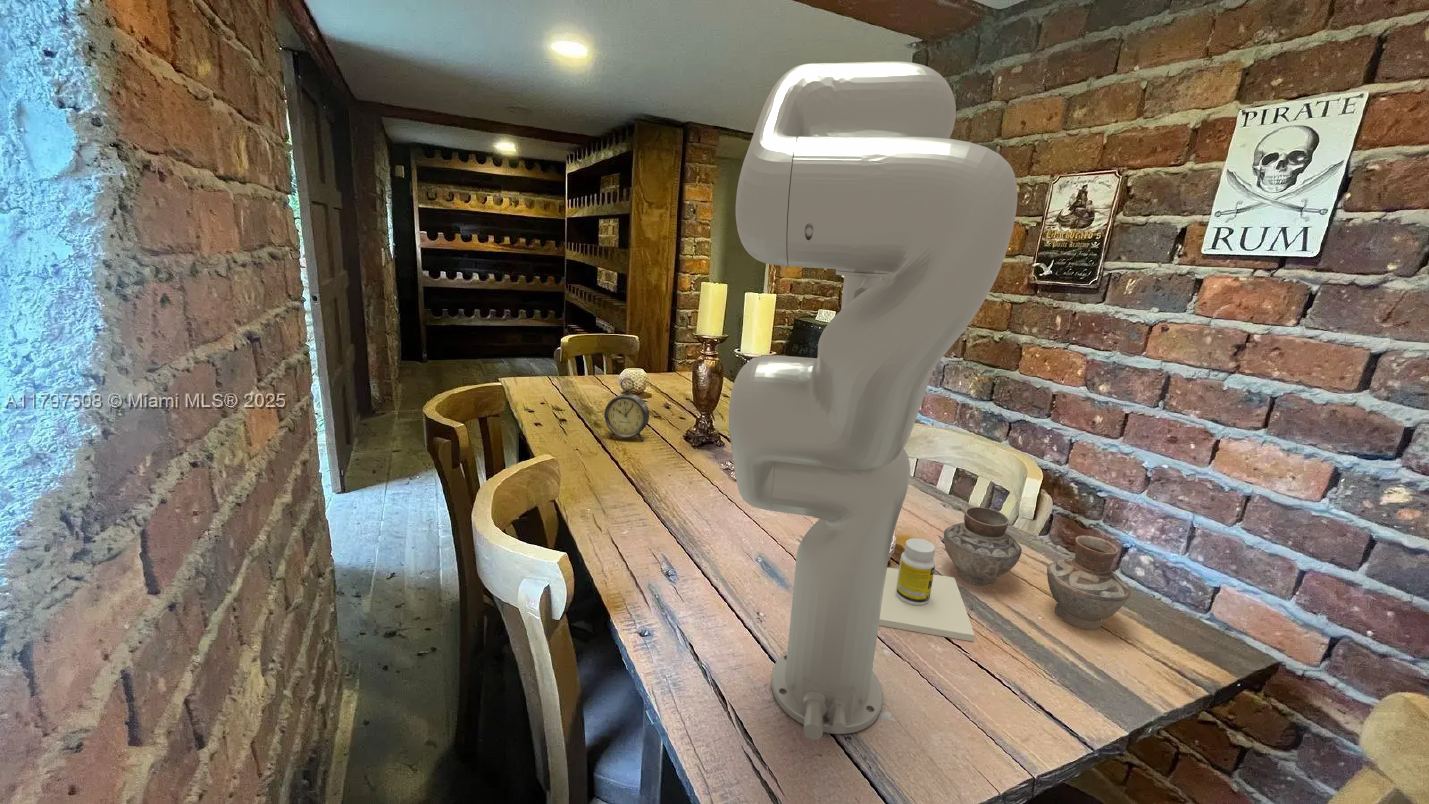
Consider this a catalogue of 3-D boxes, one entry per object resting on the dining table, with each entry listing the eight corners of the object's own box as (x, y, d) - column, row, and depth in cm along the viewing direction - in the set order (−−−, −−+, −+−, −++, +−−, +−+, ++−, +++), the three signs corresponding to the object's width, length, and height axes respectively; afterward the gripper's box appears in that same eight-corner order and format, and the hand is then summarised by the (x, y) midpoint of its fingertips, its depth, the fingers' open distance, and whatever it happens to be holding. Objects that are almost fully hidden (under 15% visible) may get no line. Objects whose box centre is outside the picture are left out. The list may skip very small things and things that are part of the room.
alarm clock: (603, 440, 144) (603, 378, 140) (611, 433, 149) (610, 374, 145) (644, 444, 143) (645, 382, 138) (650, 437, 148) (651, 377, 143)
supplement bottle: (931, 608, 79) (940, 555, 77) (897, 603, 80) (905, 550, 78) (926, 589, 84) (934, 539, 81) (893, 584, 85) (901, 534, 82)
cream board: (973, 641, 74) (974, 635, 74) (865, 623, 77) (865, 616, 77) (953, 583, 87) (954, 577, 87) (861, 569, 90) (862, 563, 90)
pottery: (1111, 654, 73) (1133, 573, 70) (926, 574, 90) (937, 506, 87) (1126, 617, 81) (1146, 543, 78) (953, 550, 98) (965, 487, 95)
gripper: (897, 268, 70) (880, 400, 74) (886, 266, 86) (873, 374, 91) (836, 265, 71) (823, 395, 76) (837, 263, 88) (826, 370, 92)
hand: (850, 383), depth 83 cm, fingers open, 9 cm apart
